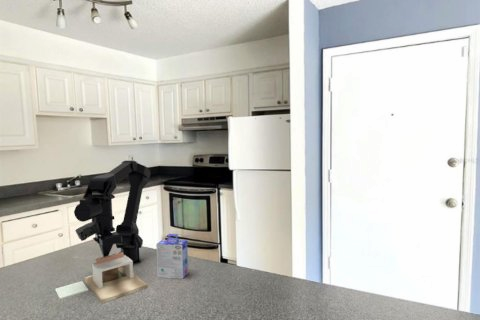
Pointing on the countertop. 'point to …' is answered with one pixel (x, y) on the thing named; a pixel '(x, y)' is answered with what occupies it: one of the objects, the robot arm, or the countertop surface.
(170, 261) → the ink cartridge box
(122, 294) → the puzzle board
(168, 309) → the countertop surface
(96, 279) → the panel
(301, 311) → the countertop surface
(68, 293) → the coaster pad
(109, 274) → the walnut block
